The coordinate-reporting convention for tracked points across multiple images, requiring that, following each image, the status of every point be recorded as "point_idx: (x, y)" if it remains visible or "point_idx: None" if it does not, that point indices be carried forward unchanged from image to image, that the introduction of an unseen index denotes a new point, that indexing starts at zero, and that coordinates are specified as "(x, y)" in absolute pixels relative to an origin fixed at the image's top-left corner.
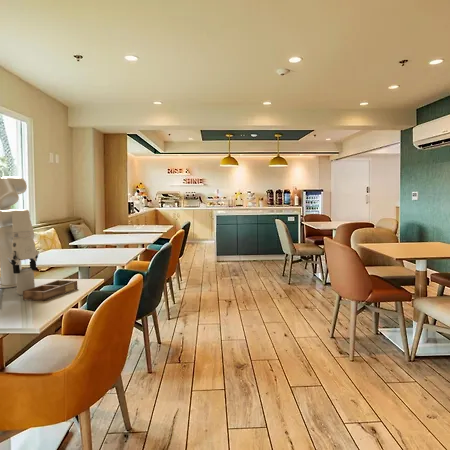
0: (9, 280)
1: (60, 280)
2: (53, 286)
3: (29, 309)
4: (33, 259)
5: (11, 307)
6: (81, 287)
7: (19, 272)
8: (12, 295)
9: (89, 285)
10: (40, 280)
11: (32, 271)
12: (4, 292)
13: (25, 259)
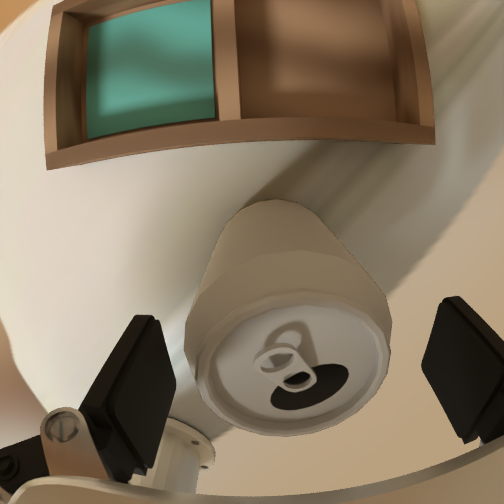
0: (184, 461)
1: (54, 128)
2: (233, 9)
3: (485, 9)
4: (103, 461)
5: (499, 107)
6: None
7: (454, 298)
8: None
9: (20, 36)
10: (50, 392)
11: (241, 279)
12: None
13: (481, 448)
